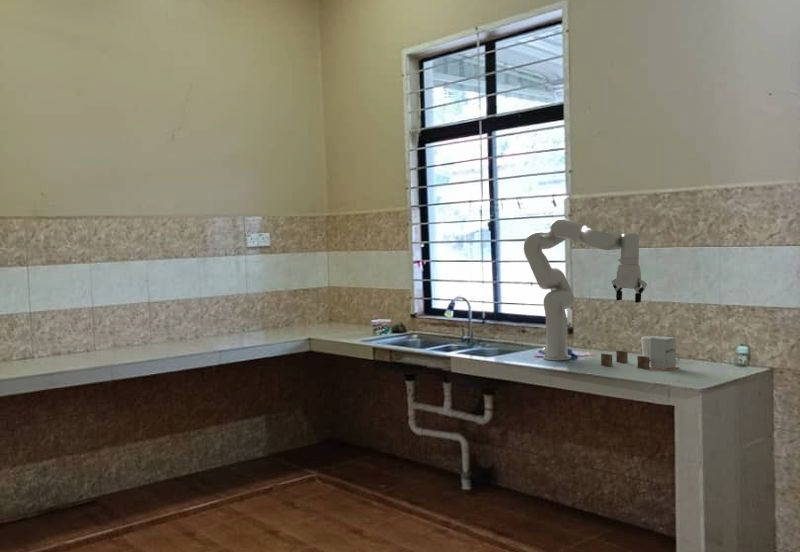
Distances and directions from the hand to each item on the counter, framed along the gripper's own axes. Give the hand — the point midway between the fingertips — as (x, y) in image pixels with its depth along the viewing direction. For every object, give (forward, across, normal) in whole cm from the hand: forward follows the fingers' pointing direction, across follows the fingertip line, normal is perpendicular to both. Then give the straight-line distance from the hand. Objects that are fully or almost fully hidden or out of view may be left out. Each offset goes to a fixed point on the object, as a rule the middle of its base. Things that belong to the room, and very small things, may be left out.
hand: (628, 301), depth 329 cm
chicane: (+28, +3, 0) cm, 28 cm away
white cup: (+28, 0, +17) cm, 33 cm away
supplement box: (+27, +17, +2) cm, 32 cm away
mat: (+27, +17, +2) cm, 32 cm away
